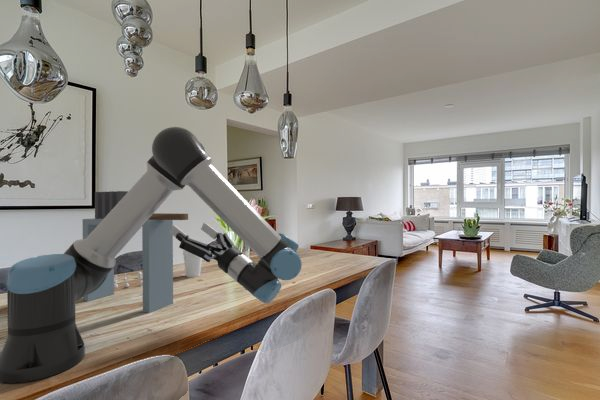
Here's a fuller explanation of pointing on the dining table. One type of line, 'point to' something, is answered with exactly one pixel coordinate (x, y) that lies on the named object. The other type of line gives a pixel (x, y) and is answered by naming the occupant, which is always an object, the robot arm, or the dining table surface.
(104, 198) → the domino
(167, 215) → the walnut bar
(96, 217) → the domino
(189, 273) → the foam cup
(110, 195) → the domino
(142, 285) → the game piece set
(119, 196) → the domino
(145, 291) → the slate shelf
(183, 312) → the dining table surface
